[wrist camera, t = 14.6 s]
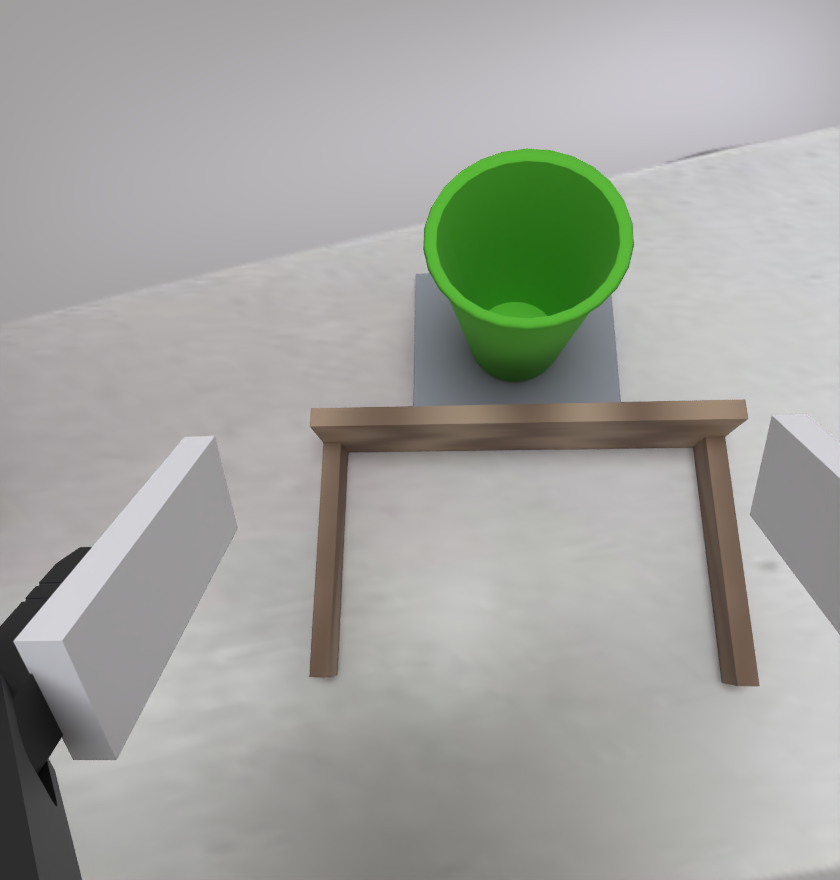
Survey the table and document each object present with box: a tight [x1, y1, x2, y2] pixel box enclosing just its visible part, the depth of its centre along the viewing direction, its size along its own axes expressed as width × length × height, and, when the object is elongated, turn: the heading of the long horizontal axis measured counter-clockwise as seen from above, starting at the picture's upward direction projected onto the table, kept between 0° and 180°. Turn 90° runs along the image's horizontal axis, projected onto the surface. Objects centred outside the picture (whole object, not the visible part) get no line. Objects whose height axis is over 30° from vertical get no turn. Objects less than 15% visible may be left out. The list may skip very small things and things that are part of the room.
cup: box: [423, 149, 634, 382], centre depth 32 cm, size 9×9×11 cm
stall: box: [309, 400, 759, 686], centre depth 32 cm, size 22×14×5 cm, turn 89°
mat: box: [414, 274, 621, 406], centre depth 37 cm, size 12×10×1 cm
